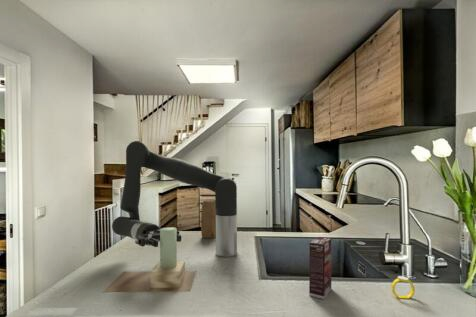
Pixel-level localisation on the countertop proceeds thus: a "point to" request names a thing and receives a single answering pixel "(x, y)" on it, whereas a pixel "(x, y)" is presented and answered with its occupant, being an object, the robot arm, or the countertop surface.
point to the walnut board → (146, 283)
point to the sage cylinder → (168, 248)
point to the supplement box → (320, 267)
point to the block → (208, 219)
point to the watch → (403, 279)
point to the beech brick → (168, 276)
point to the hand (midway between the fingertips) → (169, 241)
